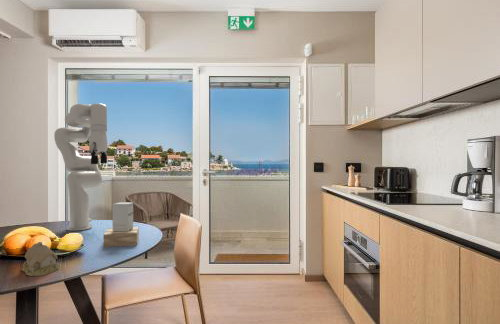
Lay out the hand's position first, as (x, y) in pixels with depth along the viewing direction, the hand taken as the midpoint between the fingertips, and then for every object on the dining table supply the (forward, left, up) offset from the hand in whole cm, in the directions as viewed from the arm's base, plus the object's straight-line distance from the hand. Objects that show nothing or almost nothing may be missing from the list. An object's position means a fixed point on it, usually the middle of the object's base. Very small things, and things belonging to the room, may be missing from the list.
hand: (99, 163), depth 175 cm
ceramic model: (+50, +2, -37) cm, 62 cm away
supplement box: (+10, +16, -31) cm, 36 cm away
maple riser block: (+11, +15, -37) cm, 41 cm away
